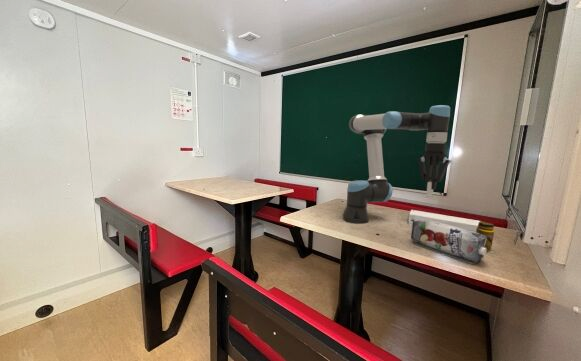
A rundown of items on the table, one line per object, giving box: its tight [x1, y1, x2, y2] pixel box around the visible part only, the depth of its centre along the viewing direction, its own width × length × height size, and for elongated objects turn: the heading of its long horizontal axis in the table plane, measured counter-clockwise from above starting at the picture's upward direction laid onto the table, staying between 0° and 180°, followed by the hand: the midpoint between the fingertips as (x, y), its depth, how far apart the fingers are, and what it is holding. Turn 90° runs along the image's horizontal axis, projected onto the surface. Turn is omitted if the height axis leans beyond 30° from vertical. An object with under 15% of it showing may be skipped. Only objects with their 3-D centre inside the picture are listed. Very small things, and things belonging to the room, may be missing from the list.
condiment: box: [476, 221, 495, 254], centre depth 104 cm, size 7×8×12 cm
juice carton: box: [410, 219, 487, 263], centre depth 99 cm, size 9×10×27 cm
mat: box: [414, 241, 477, 266], centre depth 101 cm, size 22×12×1 cm, turn 35°
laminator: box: [407, 209, 482, 232], centre depth 131 cm, size 34×12×6 cm, turn 56°
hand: (429, 196), depth 104 cm, fingers closed
